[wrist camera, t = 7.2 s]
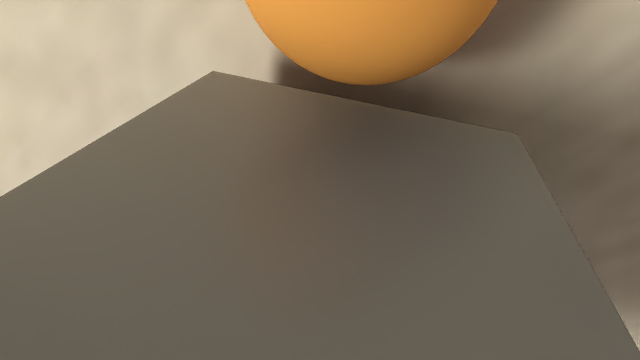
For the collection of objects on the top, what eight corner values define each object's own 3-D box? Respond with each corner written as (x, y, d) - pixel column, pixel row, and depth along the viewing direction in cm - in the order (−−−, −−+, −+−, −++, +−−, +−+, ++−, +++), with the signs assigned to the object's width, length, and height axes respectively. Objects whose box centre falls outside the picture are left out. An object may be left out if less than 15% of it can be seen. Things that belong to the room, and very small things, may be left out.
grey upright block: (425, 332, 13) (437, 822, 6) (217, 276, 14) (-5, 642, 7) (517, 134, 9) (1014, 1017, 2) (213, 71, 10) (-418, 443, 2)
